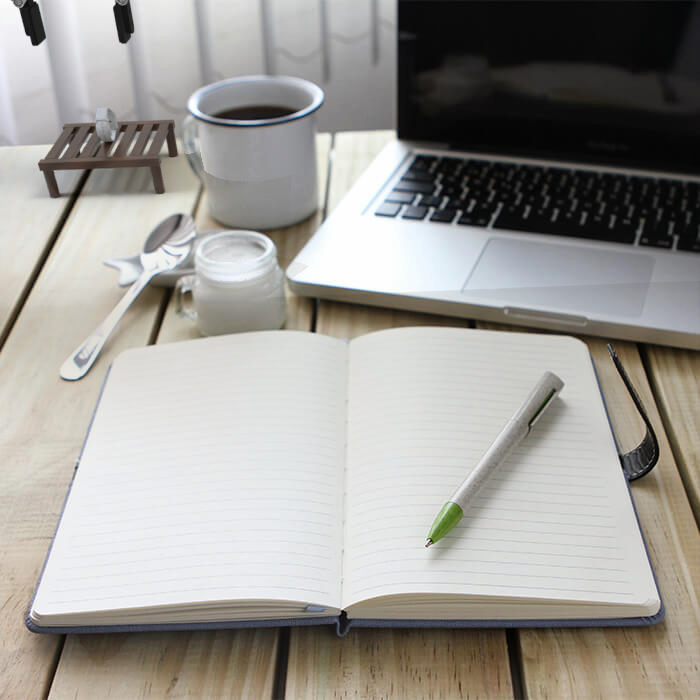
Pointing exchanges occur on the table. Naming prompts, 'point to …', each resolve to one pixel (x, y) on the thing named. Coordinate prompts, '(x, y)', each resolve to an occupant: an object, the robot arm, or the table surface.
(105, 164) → the rack
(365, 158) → the table surface
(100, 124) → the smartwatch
